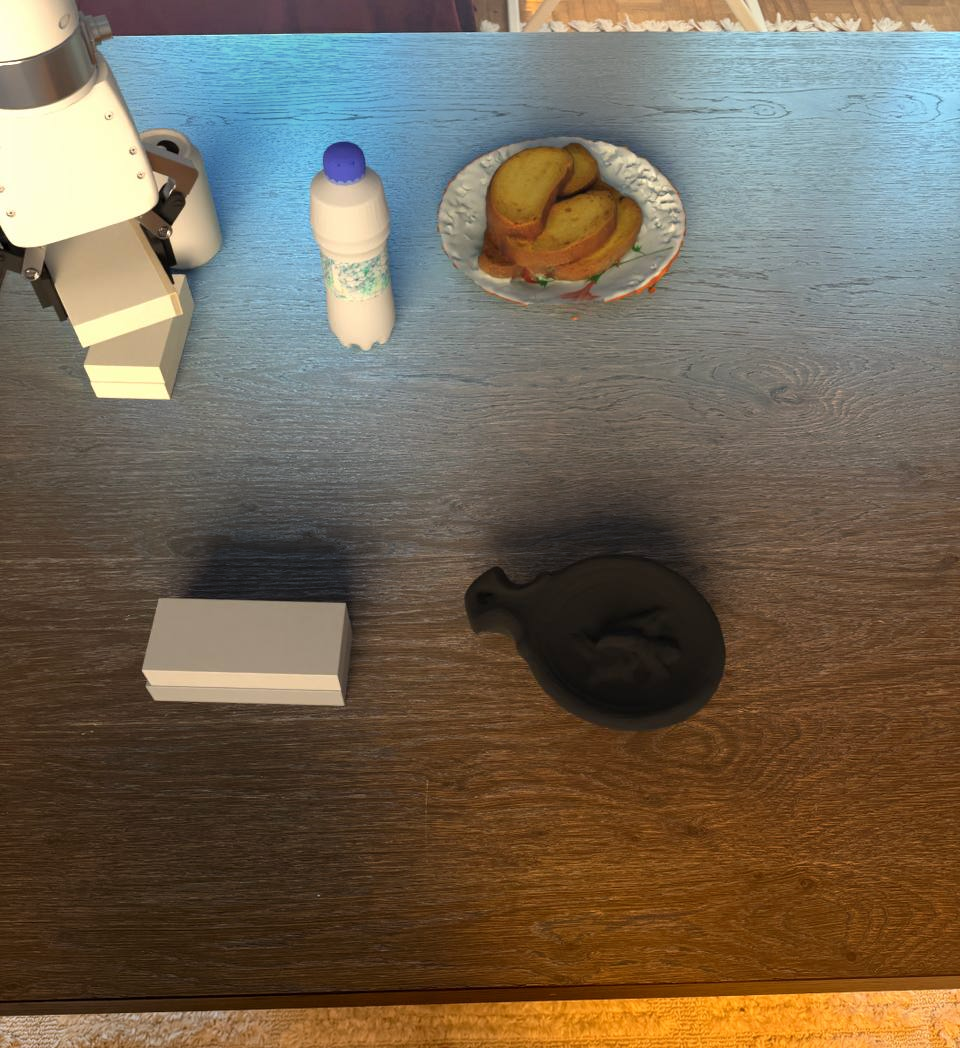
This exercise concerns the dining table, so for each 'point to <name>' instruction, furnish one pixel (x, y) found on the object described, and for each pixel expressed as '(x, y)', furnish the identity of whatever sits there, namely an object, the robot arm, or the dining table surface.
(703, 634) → the oil lamp
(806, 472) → the dining table surface
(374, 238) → the bottle
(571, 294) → the food on plate
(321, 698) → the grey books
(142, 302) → the cream flat block
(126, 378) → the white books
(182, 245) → the can
